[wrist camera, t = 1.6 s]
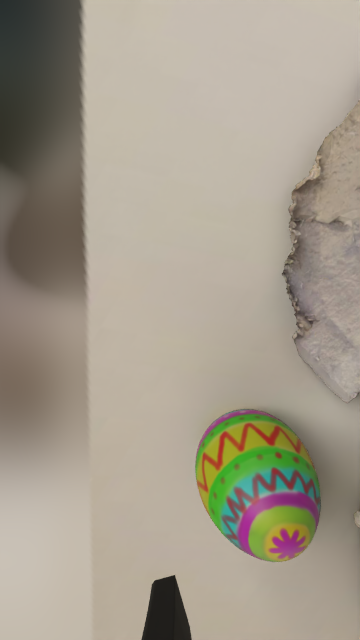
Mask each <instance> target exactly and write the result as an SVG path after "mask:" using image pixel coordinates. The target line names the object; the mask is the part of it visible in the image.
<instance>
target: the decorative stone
mask: <svg viewBox="0 0 360 640" xmlns="http://www.w3.org/2000/svg"><path fill="white" fill-rule="evenodd" d="M347 115H348V116H347V117H346V118H345V119H344V121H343V122H342V124H341V125H340V126H339V127H336V129H335V130H333V131H332V132H330V133H329V135H328V136H327V137H326V138H325V140H324V142H323V144H322V145H321V147H320V148H319V150H318V152H317V157H316V160H315V161H316V163H317V164H315V165H313V168H312V169H311V171H310V175H309V177H307V178H305V179H303V180H302V181H301V182H300V183H298V184H297V185H296V189H294V190H293V191H292V200H293V204H292V205H291V206H290V207H289V213H290V215H291V216H292V217H291V221H290V222H289V224H290V225H289V230H290V231H292V232H291V235H290V236H291V241H292V243H293V248H292V250H293V252H292V253H290V255H289V256H288V259H287V260H286V262H285V266H284V270H283V273H282V275H283V276H284V278H285V280H286V283H287V284H288V285H287V288H286V289H287V290H288V291H287V293H288V294H289V299H290V300H291V301H292V306H293V307H294V308H295V311H296V313H295V314H294V315H295V316H296V318H297V324H296V325H297V326H298V327H299V329H298V331H296V333H294V335H293V337H292V338H293V339H294V342H295V344H296V346H297V350H298V353H299V356H300V357H302V358H303V359H304V362H305V363H307V364H308V365H310V366H311V368H312V369H313V370H314V371H315V373H316V374H317V375H318V376H320V378H321V379H322V380H323V381H324V383H325V385H327V386H328V387H329V388H330V389H331V390H332V391H333V393H335V395H336V394H337V396H339V397H341V398H342V400H343V401H344V402H346V403H348V402H349V401H351V400H352V398H355V397H356V395H358V392H360V100H359V102H358V104H357V105H356V106H355V107H354V108H353V109H352V110H351V111H350V112H349V113H348V114H347Z"/></svg>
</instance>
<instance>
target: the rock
mask: <svg viewBox="0 0 360 640" xmlns="http://www.w3.org/2000/svg"><path fill="white" fill-rule="evenodd" d="M354 519H355V524H356V525H357V526H358V527H359V529H360V510H359V511H357V512H355V513H354Z"/></svg>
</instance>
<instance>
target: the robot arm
mask: <svg viewBox="0 0 360 640" xmlns="http://www.w3.org/2000/svg"><path fill="white" fill-rule="evenodd" d="M142 640H191V632H190V626H189V623H188V619H187V616H186V612H185V609H184V605H183V602H182V598H181V595H180V591H179V588H178V584H177V581H176V578H175V575H173V576H170V577H166V578H162V579H159V580H155V581H154V582H153V584H152V588H151V595H150V601H149V607H148V612H147V617H146V622H145V627H144V631H143V636H142Z"/></svg>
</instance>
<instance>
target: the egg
mask: <svg viewBox="0 0 360 640" xmlns="http://www.w3.org/2000/svg"><path fill="white" fill-rule="evenodd" d="M195 467H196V480H197V485H198V489H199V493H200V496H201V499H202V502H203V504H204V506H205V508H206V510H207V512H208V514H209V516H210V518H211V519H212V521H213V522H214V524H215V525H216V526H217V528H218V529H219V530H220V531H221V533H222V534H223V535H224V536H225V537H226V538H227V539H228V540H229V541H230V542H231V543H233V544H234V545H235V546H236V547H238V548H239V549H241V550H242V551H244V552H245V553H247V554H249V555H251V556H253V557H256V558H258V559H261V560H265V561H271V562H282V561H287V560H290V559H293V558H295V557H296V556H298V555H299V554H301V553H302V552H303V551H304V550H305V549H306V548H307V546H308V545H309V544H310V542H311V541H312V539H313V537H314V534H315V532H316V529H317V526H318V522H319V517H320V507H321V497H320V488H319V482H318V478H317V474H316V471H315V468H314V465H313V462H312V460H311V458H310V456H309V454H308V452H307V450H306V448H305V447H304V445H303V444H302V442H301V441H300V439H299V438H298V437H297V436H296V434H295V433H294V432H293V431H292V430H291V429H290V428H289V427H288V426H287V425H285V424H284V423H283V422H281V421H280V420H279V419H277V418H275V417H273V416H271V415H269V414H267V413H264V412H261V411H257V410H249V409H243V410H236V411H232V412H229V413H226V414H224V415H223V416H221V417H219V418H218V419H217V420H215V421H214V422H213V423H212V424H211V425H210V426H209V427H208V429H207V430H206V432H205V433H204V435H203V437H202V439H201V441H200V444H199V447H198V450H197V455H196V466H195Z"/></svg>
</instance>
